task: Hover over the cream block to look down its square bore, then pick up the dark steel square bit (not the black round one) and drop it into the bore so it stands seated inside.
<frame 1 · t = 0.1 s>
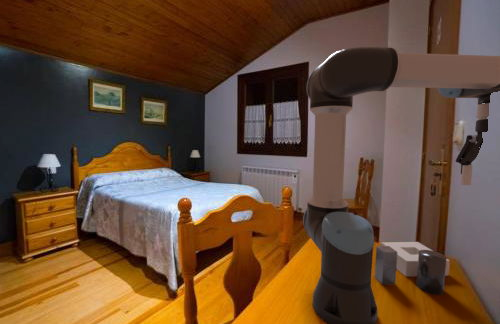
hand: (486, 189, 75), 28 cm above the table, fingers open, 13 cm apart
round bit: (429, 287, 71), on the table
socket block: (411, 264, 85), on the table
square bit: (384, 280, 75), on the table
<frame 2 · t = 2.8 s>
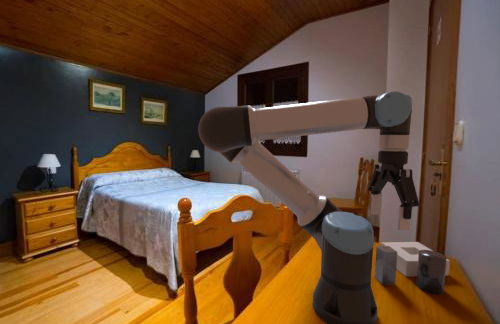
hand: (388, 221, 73), 18 cm above the table, fingers open, 13 cm apart
nothing on the table moved.
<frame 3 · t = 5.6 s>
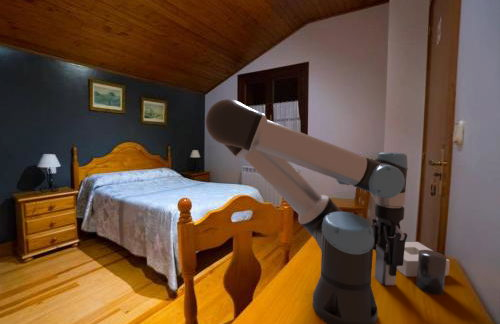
hand: (385, 279, 75), 0 cm above the table, fingers closed on square bit, 4 cm apart
square bit: (384, 280, 75), on the table, touching gripper
everything else where it was.
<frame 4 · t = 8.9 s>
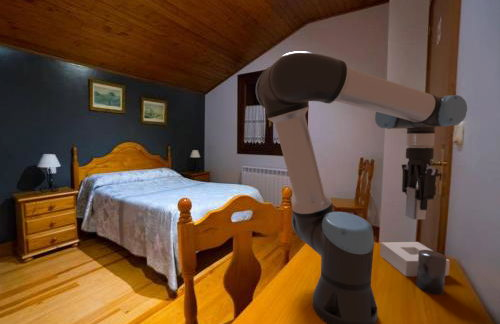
hand: (415, 216, 83), 17 cm above the table, fingers closed on square bit, 4 cm apart
square bit: (415, 217, 83), point 17 cm above the table, touching gripper
everything else where it was.
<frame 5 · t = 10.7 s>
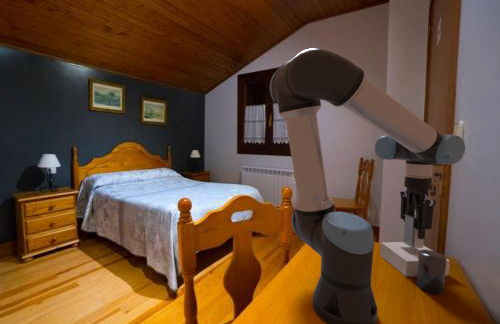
hand: (413, 244, 84), 7 cm above the table, fingers closed on square bit, 4 cm apart
square bit: (413, 244, 84), point 7 cm above the table, touching gripper
everything else where it was.
when the fingers open (7 cm above the table, at t = 12.0 s): square bit drops 6 cm, resting on socket block.
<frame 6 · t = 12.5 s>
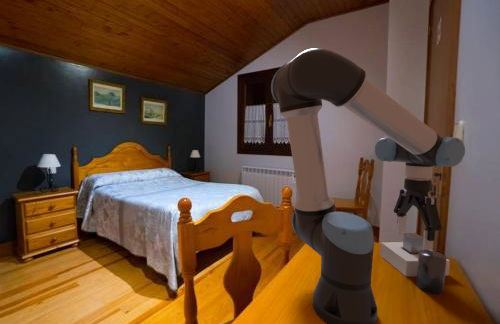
hand: (413, 241, 84), 8 cm above the table, fingers open, 12 cm apart
square bit: (411, 263, 85), resting on socket block
everything else where it was.
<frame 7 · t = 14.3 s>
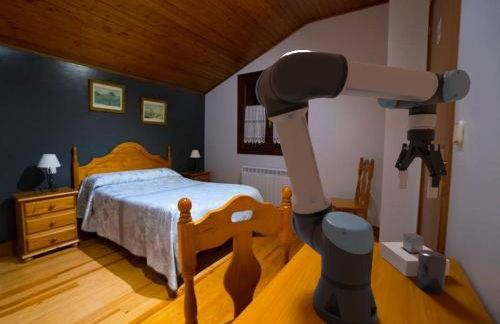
hand: (415, 192, 82), 25 cm above the table, fingers open, 13 cm apart
nothing on the table moved.
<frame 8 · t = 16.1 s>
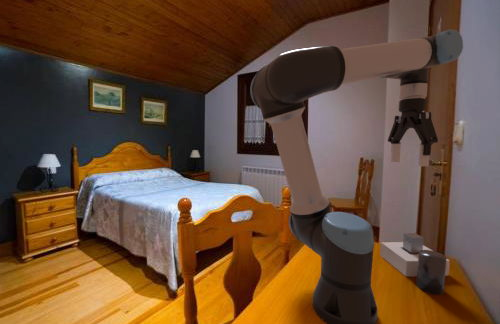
hand: (408, 164, 82), 35 cm above the table, fingers open, 13 cm apart
nothing on the table moved.
at the end: square bit 0.1 cm off-centre on the socket block, point 0.4 cm above the socket block's base; square bit tilted 0°; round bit moved 0.0 cm from its start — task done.
